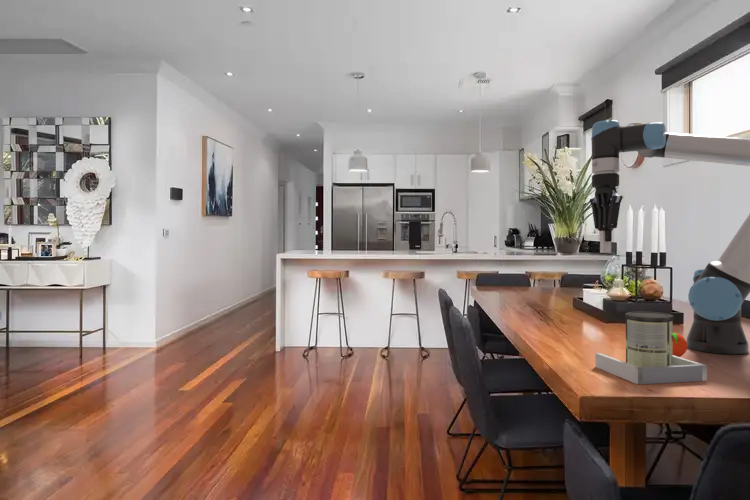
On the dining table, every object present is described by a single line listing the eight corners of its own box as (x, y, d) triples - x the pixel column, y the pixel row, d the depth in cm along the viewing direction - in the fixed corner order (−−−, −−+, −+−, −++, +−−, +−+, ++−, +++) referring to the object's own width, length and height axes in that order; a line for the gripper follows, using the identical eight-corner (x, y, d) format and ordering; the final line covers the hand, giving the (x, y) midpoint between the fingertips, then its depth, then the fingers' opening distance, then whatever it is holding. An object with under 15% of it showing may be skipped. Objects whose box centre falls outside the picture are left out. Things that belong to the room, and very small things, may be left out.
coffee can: (618, 366, 132) (618, 311, 132) (661, 367, 131) (661, 311, 131) (634, 377, 122) (635, 317, 122) (681, 378, 121) (681, 317, 121)
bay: (595, 366, 132) (595, 353, 132) (657, 363, 135) (657, 350, 135) (637, 384, 116) (638, 368, 116) (706, 380, 119) (707, 365, 119)
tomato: (691, 362, 136) (692, 335, 136) (662, 360, 138) (662, 333, 138) (683, 355, 144) (683, 330, 144) (655, 354, 146) (655, 328, 146)
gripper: (581, 176, 162) (582, 252, 162) (607, 170, 149) (607, 253, 149) (603, 176, 163) (604, 252, 163) (630, 171, 150) (631, 252, 151)
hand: (605, 252), depth 156 cm, fingers closed
